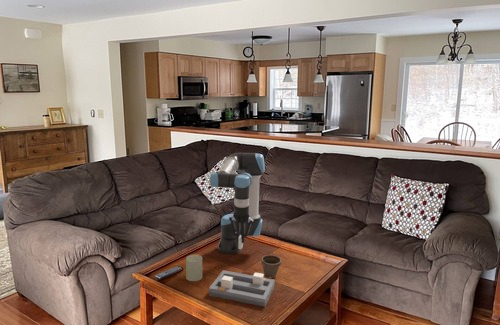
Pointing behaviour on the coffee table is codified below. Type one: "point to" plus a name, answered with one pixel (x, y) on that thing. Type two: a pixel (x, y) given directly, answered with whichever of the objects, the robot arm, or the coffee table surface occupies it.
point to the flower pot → (270, 265)
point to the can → (194, 267)
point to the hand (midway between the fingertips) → (240, 247)
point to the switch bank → (243, 289)
